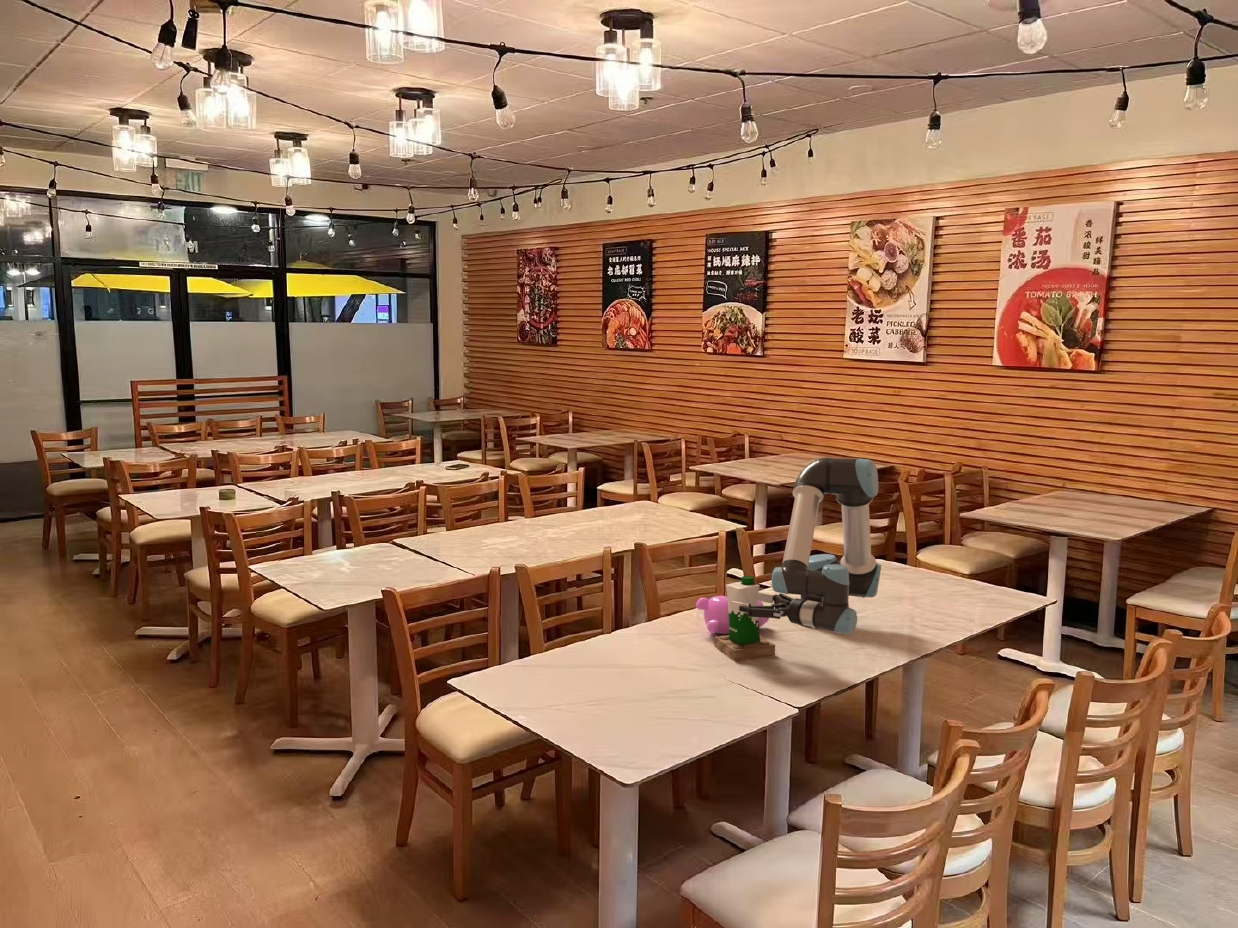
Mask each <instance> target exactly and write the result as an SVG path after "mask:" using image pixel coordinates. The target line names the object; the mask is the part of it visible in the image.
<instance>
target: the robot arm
mask: <svg viewBox="0 0 1238 928" xmlns="http://www.w3.org/2000/svg"><path fill="white" fill-rule="evenodd" d="M878 494H879V474H878V469H877V465H876V464H875V462H874V461H873V460H872V459H866V458H859V457H858V458H842V457H841V458H840V457H829V456H827V457H825V456H824V457H819V458H817V459H815V460H813V461H811V462H810V463H809V464H807V465H806V466H805V467H804V468H803V469H802V470H801V472H800V473H799V474H798V476H797V478H796V479H795V482H794V485H793V489H792V496H793V498H794V502H793V507H792V512H791V517H790V522H789V527H788V528H789V529H788V532H787V533H788V534H787V537H786V538H787V539H786V543H785V549H784V554H783V559H782V564H781V566H777V567H774V568H773V570H772V575H771V587H772V590H773V591H774V592H775V594H773V593H766V592H761V591H759V593H758V601H761V602H762V603H768V604H770V605H764V606H751V604H745V603H740V602H735V601H731V610H734V611H738V612H743V613H747V616H748V617H763V618H769V619H776V620H780V619H781V618H784V617H787V618H788V621H789V622H790V623H792V624H796V625H800V626H803V627H808V628H811V629H813V630H814V629H821V630H823V631H829V632H834V633H837V634H846V635H850V634H852V633H853V632H855V629H856V628H857V623H858V615H857V611H856V609H854V608H851V607H849V606H850V605H849V596H850V597H858V598H864V599H865V598H874V597H876V596H877V595H878V589H879V583H880V577H881V572H882V565H881V563H879V562H877V560H876V558H875V556H874V555H873V554H872V547H871V546H872V545H871V544H872V543H871V542H872V541H871V522H870V521H871V520H870V504H871V502H872V501H873V500H874V497H876V496H877V495H878ZM825 495H835V498H836V501H837V503H838V504H840V505H841V519H842V520H841V521H842V533H843V536H842V537H843V554H844V555H843V556H842V557H841V559H840V560H837V557H836V555H834V554H829V553H820V554H814V555H813V554H812V555H811V551H812V545H813V539H814V534H815V528H816V524H817V523H816V522H817V518H818V517H817V516H818V513H819V505H820V503H821V502H822V501H823V499H824V498H825V497H824V496H825ZM776 593H778V594H776ZM788 595H800V598H798V597H795V598H793V597H790V596H788Z"/></svg>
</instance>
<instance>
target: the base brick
mask: <svg viewBox="0 0 1238 928" xmlns="http://www.w3.org/2000/svg"><path fill="white" fill-rule="evenodd" d="M715 647H716V648H717V649H716V648H715ZM714 648H715V649H716V650H718V651H719V652H721V653H722V654H723V653H724V654H723V655H725V656H726V655H727V656H726V657H728V658H729V659H730V660H731V661H733V660H734V661H736V662H742V661H741V660H743V661H749V660H754V659H762V658H768V657H769V658H770V657H775V656H776V644H774V643H773V642H771V641H769V640H768V639H766V638H764V637H763V636H761V635H760V641H759V642H754V643H750V644H745V645H740V644H738V643H735V642H733V641H731V640H729V634H724V635H719V636H714ZM748 659H749V660H748ZM734 661H733V662H734Z"/></svg>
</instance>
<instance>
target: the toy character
mask: <svg viewBox="0 0 1238 928" xmlns="http://www.w3.org/2000/svg"><path fill="white" fill-rule="evenodd" d="M758 606H765V605H764V602H762V601H758ZM695 607H696V609H697V610H699V611H703V619H704V622H705V625H706V627H707V631H708V632H709V633H711V634H712V635H715V633H716V634H721V635H729V609H728V596H727V595H716V596H712V597H710V598H709V599H708V598H706V597H701V598H699V599H697V601H696V603H695ZM769 620H770V618H763V617H759V629H760V628H761V627H762V626H764V625H765V624H766V623H768V621H769Z"/></svg>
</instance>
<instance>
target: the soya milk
mask: <svg viewBox="0 0 1238 928" xmlns="http://www.w3.org/2000/svg"><path fill="white" fill-rule="evenodd" d="M740 580H741V581H738V582H737V581H736V582H732V583H728V584H725V587H726V594H727V595H726V597H728V609H729V634H728V635H729V640H731V641H733V642H735V643H738V644H740V645H745V644H750V643H754V642H759V641H760V636H761V633H760V628H759V617H748V616H747V613H743V612H738V611H734V610H731V601H735V602H740V603H745V604H751V606H758V593H759V592H760V584H758V583H756V582H755V577H754V576H752V575H744V576H741V578H740Z"/></svg>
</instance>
